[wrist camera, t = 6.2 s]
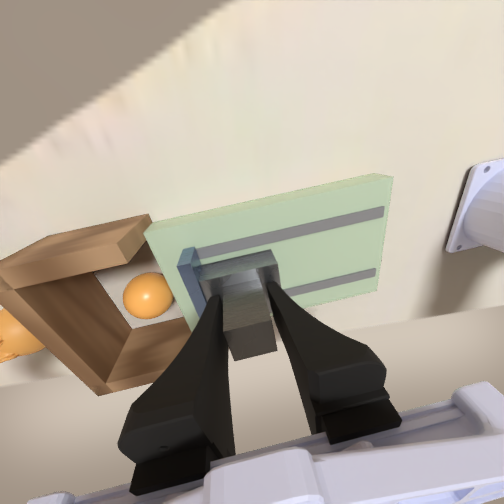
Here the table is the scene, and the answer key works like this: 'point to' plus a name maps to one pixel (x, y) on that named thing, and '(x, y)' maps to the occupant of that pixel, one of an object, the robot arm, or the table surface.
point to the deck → (288, 239)
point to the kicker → (236, 297)
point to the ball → (147, 296)
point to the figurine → (15, 338)
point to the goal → (88, 306)
